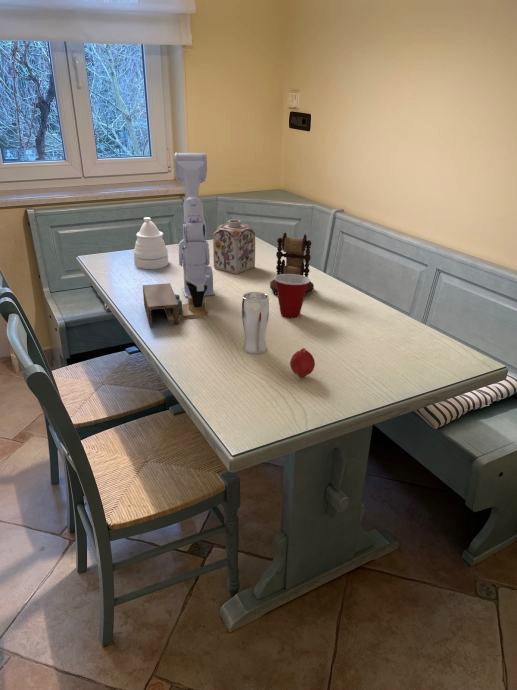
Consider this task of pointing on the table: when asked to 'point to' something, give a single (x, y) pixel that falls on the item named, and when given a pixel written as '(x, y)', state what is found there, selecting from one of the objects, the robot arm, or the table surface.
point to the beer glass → (255, 321)
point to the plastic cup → (291, 293)
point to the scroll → (293, 259)
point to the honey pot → (150, 247)
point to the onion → (302, 363)
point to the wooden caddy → (160, 300)
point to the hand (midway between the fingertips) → (197, 305)
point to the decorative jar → (234, 247)
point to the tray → (187, 309)
